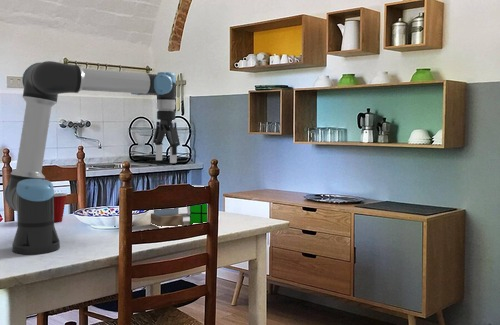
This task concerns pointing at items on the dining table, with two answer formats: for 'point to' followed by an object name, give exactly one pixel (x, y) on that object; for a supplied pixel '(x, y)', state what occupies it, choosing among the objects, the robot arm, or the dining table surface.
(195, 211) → the puzzle cube
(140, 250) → the dining table surface
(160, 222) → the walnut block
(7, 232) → the dining table surface
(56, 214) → the plastic cup
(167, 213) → the slate block
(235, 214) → the dining table surface
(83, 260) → the dining table surface
